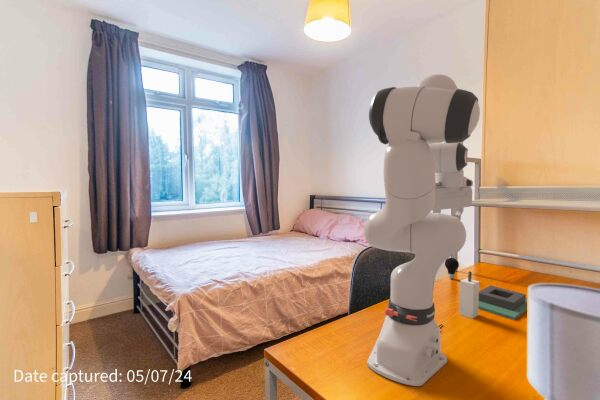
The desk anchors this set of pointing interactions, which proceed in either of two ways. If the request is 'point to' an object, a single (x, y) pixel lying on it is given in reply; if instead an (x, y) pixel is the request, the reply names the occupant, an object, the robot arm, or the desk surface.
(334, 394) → the desk surface
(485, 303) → the board
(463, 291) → the plug
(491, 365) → the desk surface
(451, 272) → the light bulb
